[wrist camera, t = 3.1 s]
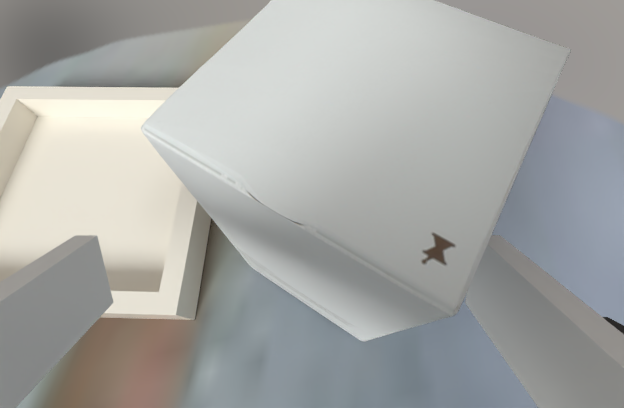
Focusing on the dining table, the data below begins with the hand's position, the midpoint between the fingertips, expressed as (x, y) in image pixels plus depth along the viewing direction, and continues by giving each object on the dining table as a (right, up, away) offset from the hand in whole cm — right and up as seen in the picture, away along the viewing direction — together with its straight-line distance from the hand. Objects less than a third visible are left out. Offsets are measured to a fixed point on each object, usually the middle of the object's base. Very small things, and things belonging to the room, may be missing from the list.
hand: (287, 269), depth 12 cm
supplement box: (+3, -1, +11) cm, 11 cm away
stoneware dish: (-14, +2, +12) cm, 19 cm away
